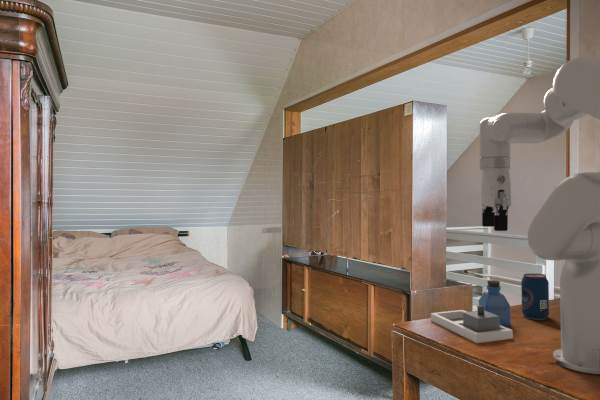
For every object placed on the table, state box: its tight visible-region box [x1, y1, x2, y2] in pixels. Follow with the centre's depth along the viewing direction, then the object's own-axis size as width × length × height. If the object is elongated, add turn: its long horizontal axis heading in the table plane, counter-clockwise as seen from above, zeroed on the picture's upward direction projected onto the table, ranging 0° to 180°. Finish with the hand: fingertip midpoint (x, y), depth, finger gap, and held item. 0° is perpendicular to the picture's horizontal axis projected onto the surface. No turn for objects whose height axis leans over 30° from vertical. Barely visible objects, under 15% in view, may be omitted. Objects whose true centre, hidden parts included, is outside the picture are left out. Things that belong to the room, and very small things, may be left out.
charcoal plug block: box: [463, 304, 500, 333], centre depth 112 cm, size 6×6×7 cm
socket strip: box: [430, 309, 514, 344], centre depth 117 cm, size 20×10×3 cm, turn 15°
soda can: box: [520, 273, 550, 321], centre depth 130 cm, size 7×7×12 cm
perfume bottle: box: [478, 279, 511, 326], centre depth 123 cm, size 6×6×12 cm
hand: (494, 228), depth 122 cm, fingers open, 9 cm apart
